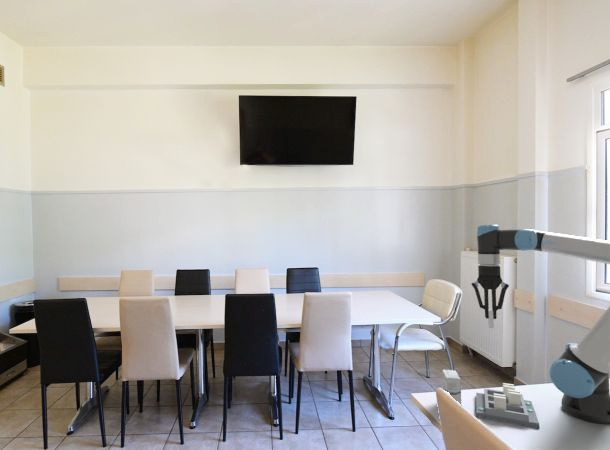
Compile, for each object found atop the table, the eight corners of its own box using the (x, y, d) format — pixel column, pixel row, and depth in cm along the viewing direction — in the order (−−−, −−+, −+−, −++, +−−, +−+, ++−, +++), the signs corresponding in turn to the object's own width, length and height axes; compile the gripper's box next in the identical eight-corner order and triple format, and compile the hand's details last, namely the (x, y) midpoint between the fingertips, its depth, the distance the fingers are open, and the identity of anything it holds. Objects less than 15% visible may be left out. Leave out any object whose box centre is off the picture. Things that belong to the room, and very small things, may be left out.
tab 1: (505, 411, 122) (505, 394, 122) (506, 415, 119) (505, 398, 119) (494, 409, 123) (493, 392, 124) (494, 413, 120) (494, 396, 121)
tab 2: (514, 399, 130) (513, 384, 131) (515, 403, 127) (514, 387, 128) (503, 397, 132) (502, 382, 132) (503, 401, 129) (503, 385, 129)
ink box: (462, 413, 124) (461, 378, 125) (447, 411, 125) (446, 377, 126) (456, 401, 133) (455, 369, 133) (442, 400, 134) (442, 369, 134)
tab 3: (519, 406, 125) (519, 390, 125) (521, 411, 122) (520, 394, 122) (508, 405, 126) (507, 388, 126) (509, 409, 123) (508, 392, 124)
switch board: (531, 405, 129) (531, 395, 129) (539, 428, 114) (538, 417, 114) (476, 396, 137) (476, 387, 137) (476, 416, 121) (476, 406, 122)
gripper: (507, 264, 138) (509, 326, 137) (469, 264, 143) (471, 323, 142) (509, 266, 131) (512, 331, 130) (470, 265, 136) (472, 328, 135)
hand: (491, 327), depth 136 cm, fingers closed
